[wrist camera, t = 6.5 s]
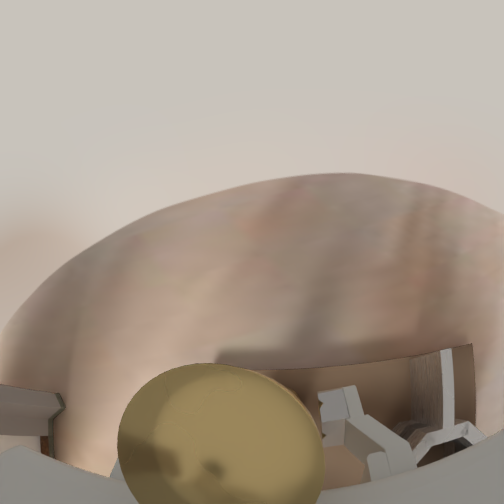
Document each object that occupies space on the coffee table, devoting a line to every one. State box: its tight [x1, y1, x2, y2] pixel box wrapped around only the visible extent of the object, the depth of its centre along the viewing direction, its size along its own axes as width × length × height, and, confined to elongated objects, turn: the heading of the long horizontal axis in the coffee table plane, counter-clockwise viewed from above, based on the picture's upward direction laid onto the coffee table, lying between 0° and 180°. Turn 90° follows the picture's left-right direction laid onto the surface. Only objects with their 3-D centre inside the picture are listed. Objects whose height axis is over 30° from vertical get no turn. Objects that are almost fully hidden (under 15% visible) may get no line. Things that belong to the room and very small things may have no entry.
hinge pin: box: [117, 363, 325, 504], centre depth 10 cm, size 4×4×14 cm
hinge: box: [392, 348, 488, 464], centre depth 11 cm, size 15×6×5 cm, turn 0°
